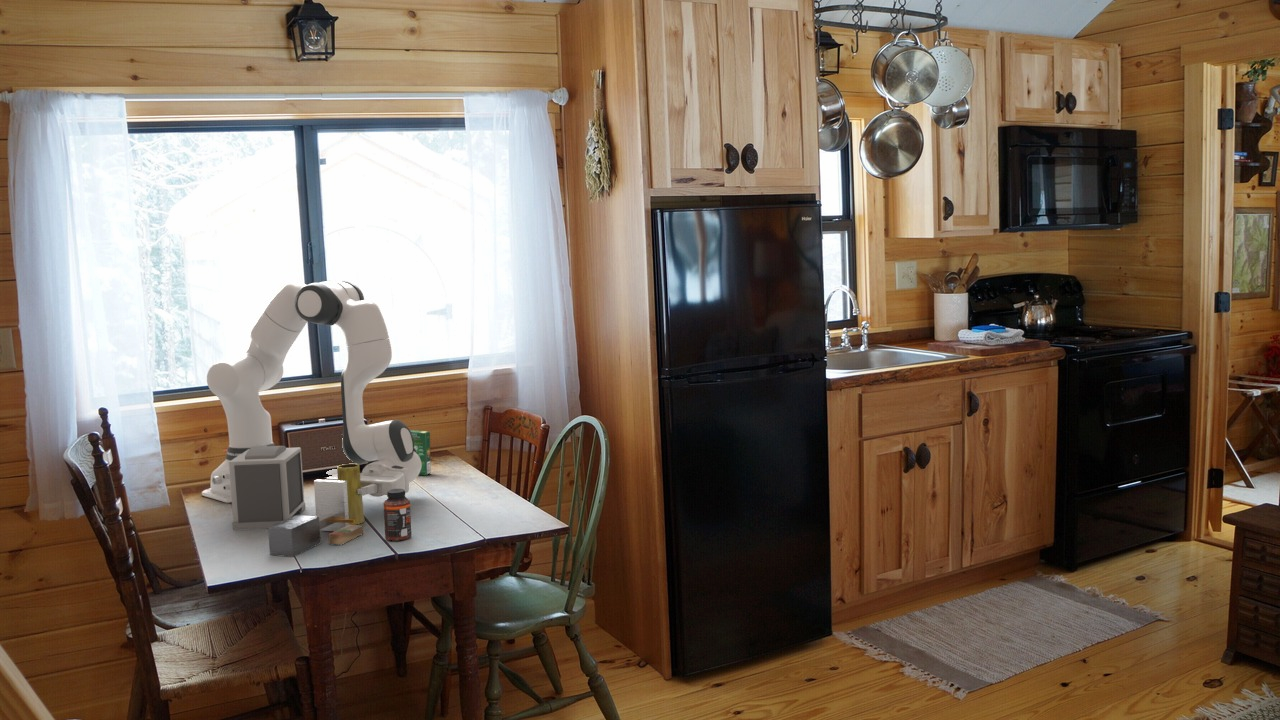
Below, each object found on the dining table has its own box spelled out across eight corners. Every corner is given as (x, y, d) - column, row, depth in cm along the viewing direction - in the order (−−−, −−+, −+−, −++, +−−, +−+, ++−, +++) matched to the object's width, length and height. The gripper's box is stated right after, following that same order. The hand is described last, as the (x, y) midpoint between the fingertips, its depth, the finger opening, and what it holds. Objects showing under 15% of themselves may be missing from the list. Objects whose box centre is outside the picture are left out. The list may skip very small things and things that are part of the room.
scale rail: (329, 544, 228) (328, 534, 228) (352, 533, 237) (351, 523, 237) (340, 545, 227) (340, 535, 227) (363, 534, 236) (362, 524, 236)
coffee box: (432, 474, 297) (430, 430, 296) (427, 476, 295) (425, 432, 293) (409, 472, 300) (406, 429, 298) (403, 474, 297) (401, 431, 296)
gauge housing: (270, 554, 222) (268, 527, 221) (298, 541, 231) (296, 515, 230) (293, 556, 220) (291, 528, 219) (320, 543, 229) (318, 516, 229)
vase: (355, 526, 242) (351, 468, 241) (333, 525, 244) (330, 467, 243) (369, 520, 248) (366, 463, 247) (348, 518, 250) (345, 462, 248)
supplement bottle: (412, 540, 230) (410, 492, 229) (385, 543, 228) (383, 494, 227) (410, 533, 236) (408, 486, 234) (384, 536, 234) (382, 488, 233)
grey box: (254, 510, 261) (249, 441, 259) (306, 508, 262) (302, 439, 259) (231, 530, 242) (225, 455, 240) (287, 527, 243) (282, 453, 241)
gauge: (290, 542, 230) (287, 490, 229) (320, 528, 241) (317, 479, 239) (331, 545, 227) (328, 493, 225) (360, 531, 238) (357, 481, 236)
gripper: (343, 464, 260) (310, 476, 247) (413, 468, 254) (383, 480, 241) (344, 488, 261) (312, 501, 248) (414, 492, 255) (384, 506, 242)
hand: (347, 491), depth 245 cm, fingers closed on vase, 5 cm apart
